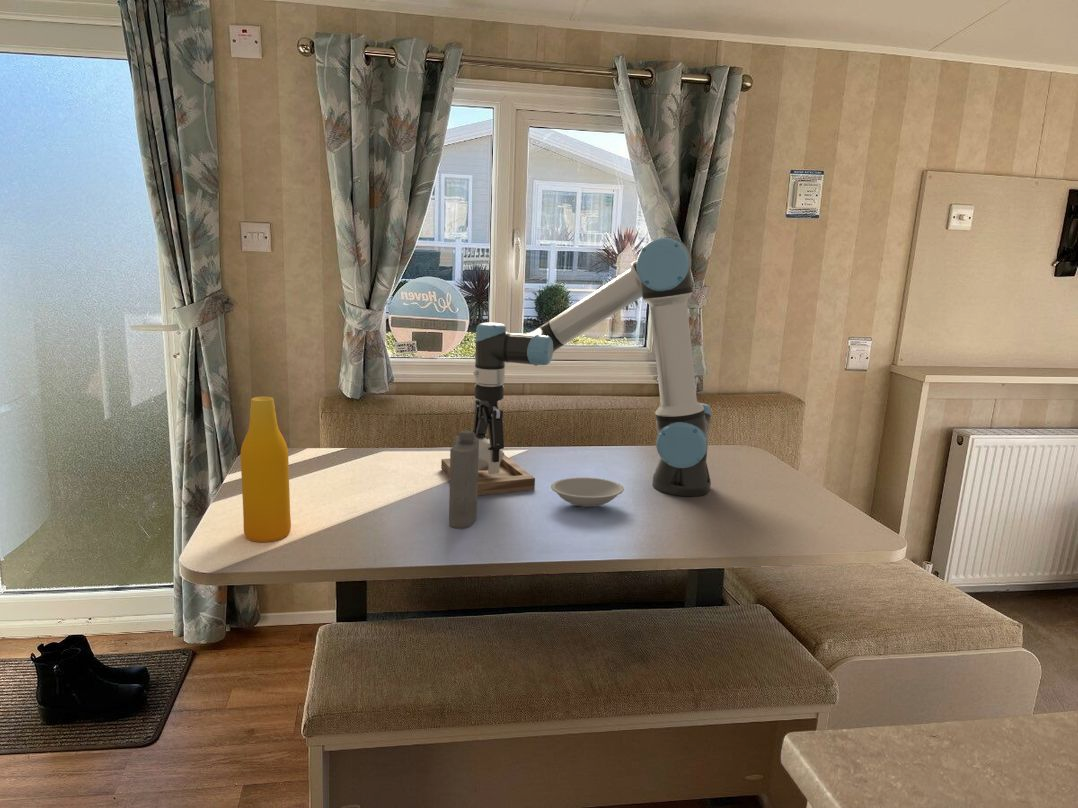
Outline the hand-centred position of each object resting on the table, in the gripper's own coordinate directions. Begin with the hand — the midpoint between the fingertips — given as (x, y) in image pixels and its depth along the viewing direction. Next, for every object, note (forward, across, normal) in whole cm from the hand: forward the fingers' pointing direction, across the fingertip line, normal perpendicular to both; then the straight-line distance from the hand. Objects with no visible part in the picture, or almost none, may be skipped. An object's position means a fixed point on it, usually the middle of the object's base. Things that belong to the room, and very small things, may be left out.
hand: (487, 467), depth 194 cm
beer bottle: (+3, +20, -56) cm, 60 cm away
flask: (+4, +23, -14) cm, 27 cm away
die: (0, 0, 0) cm, 0 cm away
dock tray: (+3, 0, 0) cm, 3 cm away
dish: (+4, +26, +16) cm, 31 cm away
